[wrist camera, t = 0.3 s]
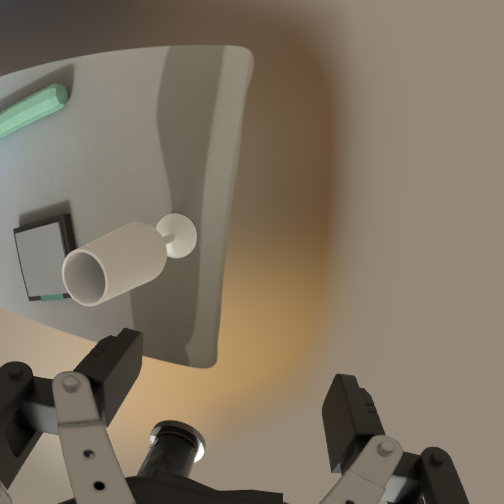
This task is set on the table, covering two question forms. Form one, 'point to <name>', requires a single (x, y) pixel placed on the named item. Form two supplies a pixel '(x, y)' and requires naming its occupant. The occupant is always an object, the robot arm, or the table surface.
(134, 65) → the table surface
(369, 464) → the robot arm
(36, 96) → the container
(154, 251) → the champagne flute
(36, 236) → the scale
